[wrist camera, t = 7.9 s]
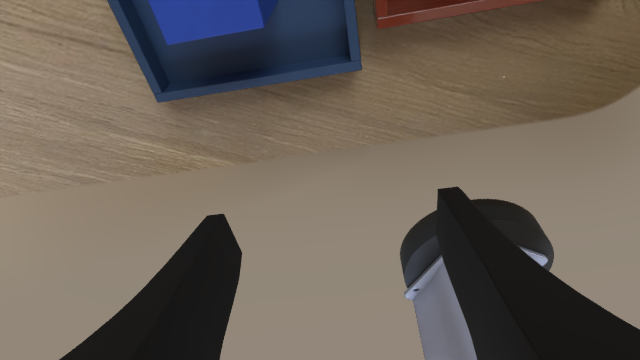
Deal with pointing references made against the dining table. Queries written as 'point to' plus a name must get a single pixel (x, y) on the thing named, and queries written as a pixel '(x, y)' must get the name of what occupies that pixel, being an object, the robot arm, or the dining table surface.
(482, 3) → the terracotta tray
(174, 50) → the blue tray
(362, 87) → the dining table surface
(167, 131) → the dining table surface
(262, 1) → the blue block
